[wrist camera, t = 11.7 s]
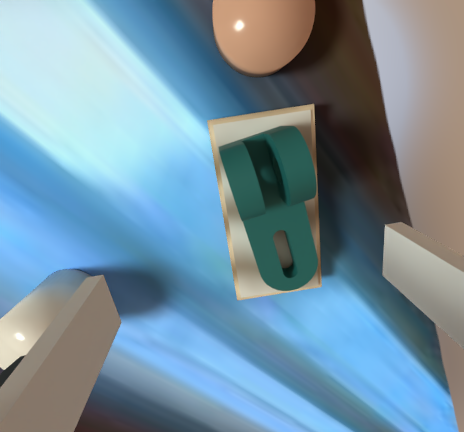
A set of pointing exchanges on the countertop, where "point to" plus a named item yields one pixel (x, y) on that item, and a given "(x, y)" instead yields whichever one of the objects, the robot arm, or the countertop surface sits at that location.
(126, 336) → the countertop surface
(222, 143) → the tray
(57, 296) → the mug
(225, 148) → the bracket
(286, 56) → the peach flattened dome
